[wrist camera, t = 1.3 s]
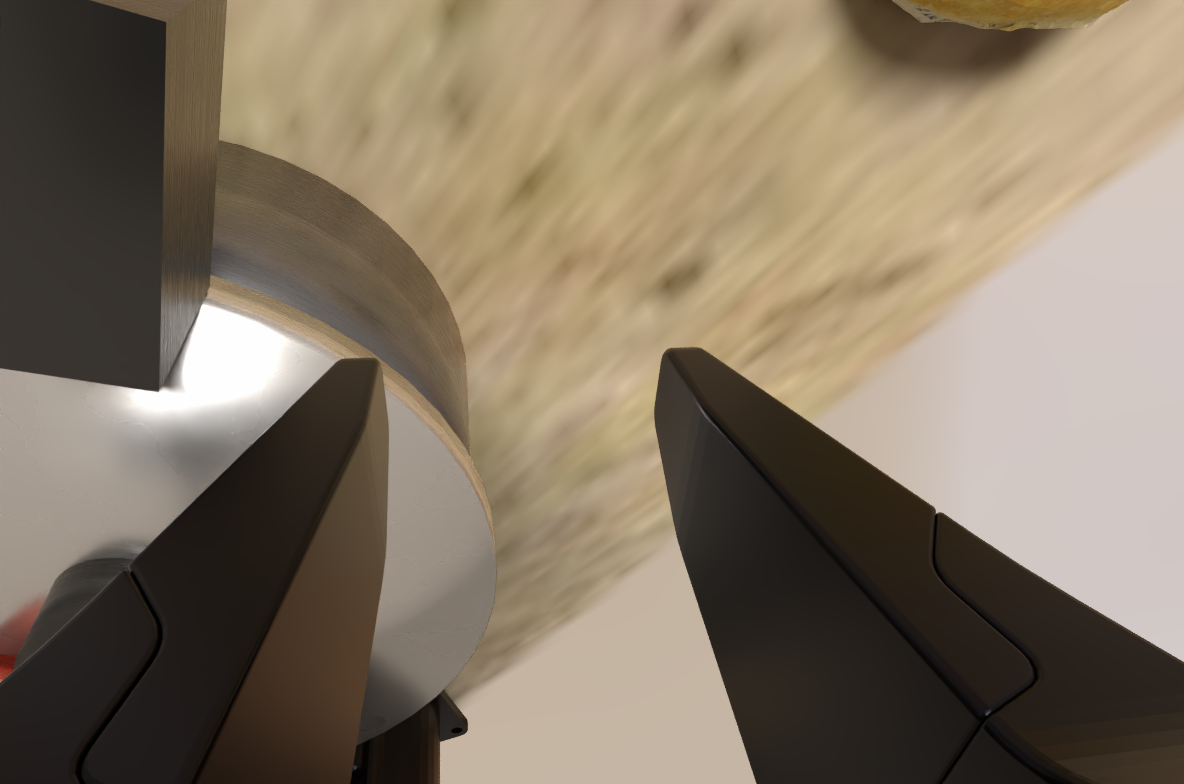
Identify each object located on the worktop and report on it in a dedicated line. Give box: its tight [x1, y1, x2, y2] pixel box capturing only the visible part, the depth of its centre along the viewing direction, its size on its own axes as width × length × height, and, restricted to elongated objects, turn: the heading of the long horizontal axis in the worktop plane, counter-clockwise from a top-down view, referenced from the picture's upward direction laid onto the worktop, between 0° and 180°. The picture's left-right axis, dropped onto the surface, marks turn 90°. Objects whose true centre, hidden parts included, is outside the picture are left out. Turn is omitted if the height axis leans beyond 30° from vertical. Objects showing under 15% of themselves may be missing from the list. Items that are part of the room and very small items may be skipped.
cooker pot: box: [211, 141, 470, 456], centre depth 19 cm, size 20×15×7 cm
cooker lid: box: [0, 0, 497, 746], centre depth 15 cm, size 21×16×4 cm
